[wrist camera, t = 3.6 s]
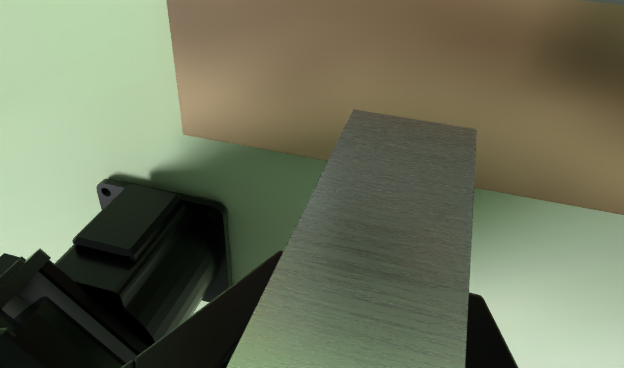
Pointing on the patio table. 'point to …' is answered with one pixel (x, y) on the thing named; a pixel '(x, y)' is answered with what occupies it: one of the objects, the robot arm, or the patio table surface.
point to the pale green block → (375, 255)
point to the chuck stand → (418, 81)
